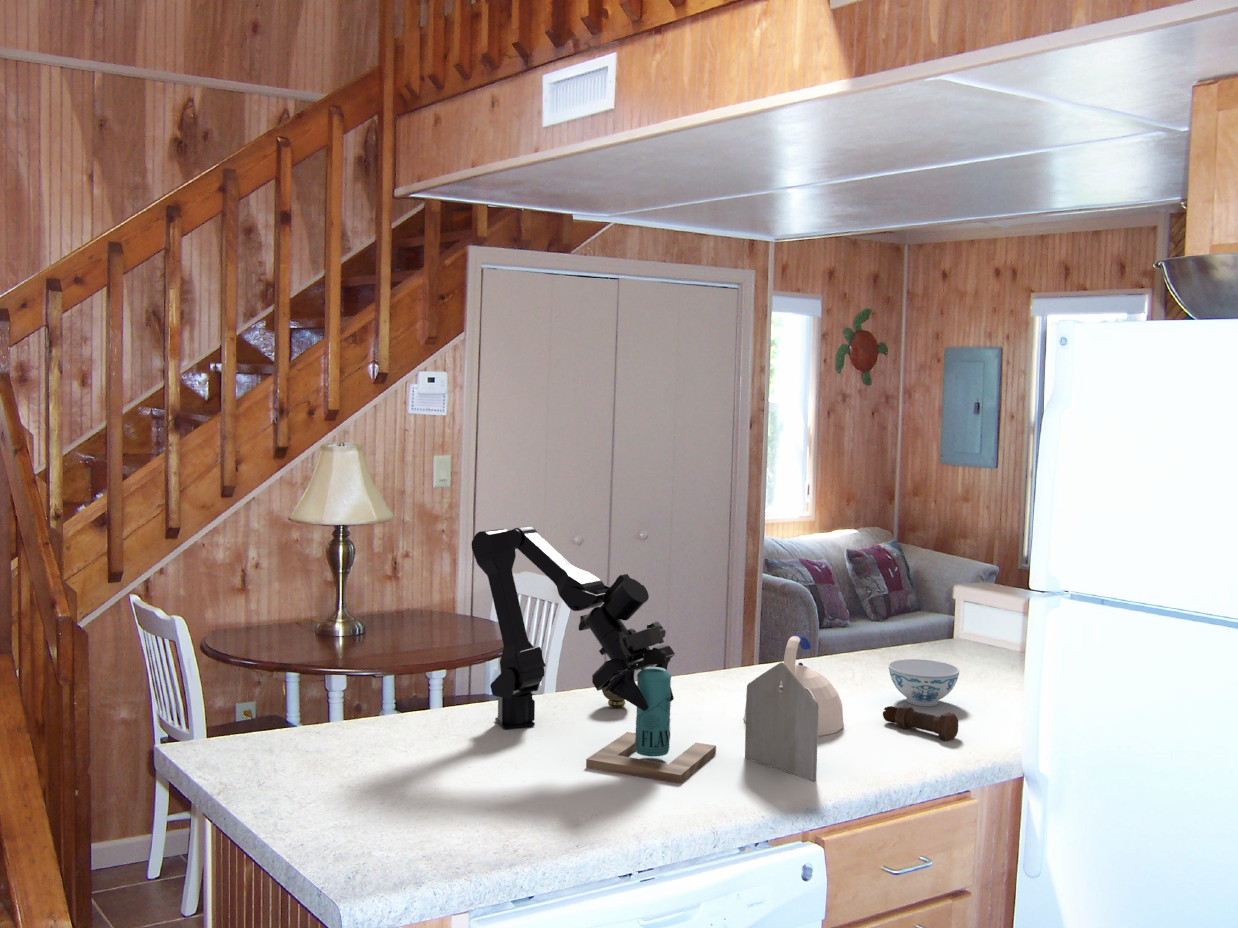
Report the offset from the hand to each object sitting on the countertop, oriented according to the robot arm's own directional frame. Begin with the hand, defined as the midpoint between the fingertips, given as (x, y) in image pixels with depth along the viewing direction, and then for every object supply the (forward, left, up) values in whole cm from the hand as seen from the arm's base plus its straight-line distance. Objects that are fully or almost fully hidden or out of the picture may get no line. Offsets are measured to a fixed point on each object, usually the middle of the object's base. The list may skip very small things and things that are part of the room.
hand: (659, 704), depth 205 cm
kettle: (+36, +14, -11) cm, 40 cm away
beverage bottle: (-1, +1, -11) cm, 11 cm away
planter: (+22, -9, -11) cm, 27 cm away
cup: (+6, +36, -11) cm, 38 cm away
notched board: (-1, +1, -10) cm, 11 cm away
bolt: (+57, 0, -11) cm, 58 cm away
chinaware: (+71, +18, -11) cm, 74 cm away
